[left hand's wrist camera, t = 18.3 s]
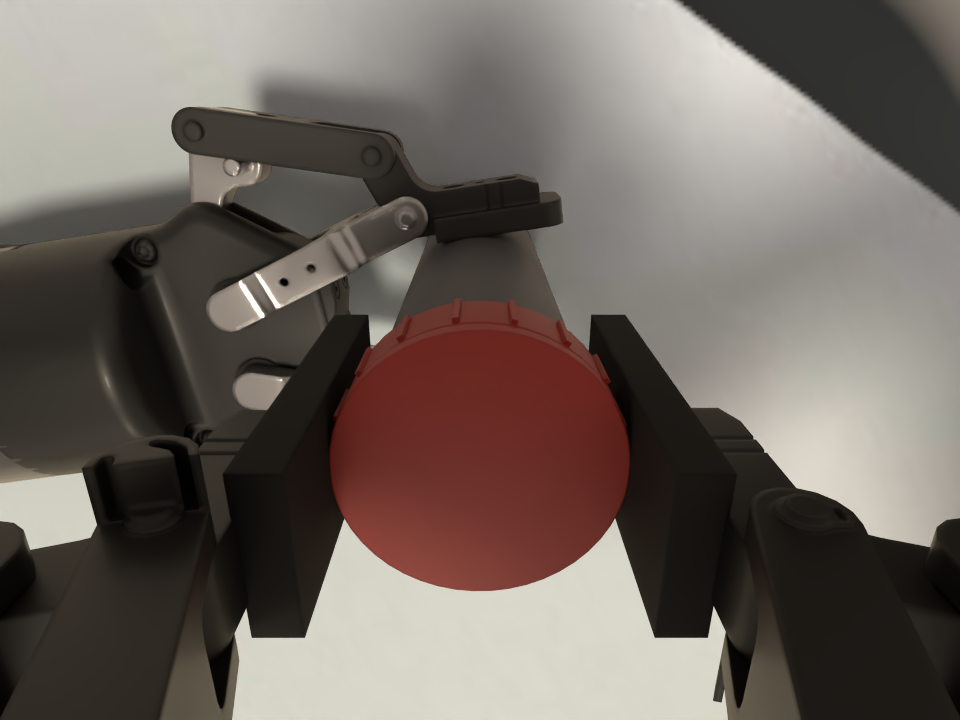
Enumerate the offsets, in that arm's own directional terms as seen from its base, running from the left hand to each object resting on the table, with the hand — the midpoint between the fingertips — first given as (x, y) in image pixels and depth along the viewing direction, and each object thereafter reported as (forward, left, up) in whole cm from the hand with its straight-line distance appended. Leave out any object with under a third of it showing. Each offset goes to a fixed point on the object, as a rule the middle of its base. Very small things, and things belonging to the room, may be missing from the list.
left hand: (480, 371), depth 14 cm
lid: (0, 0, +4) cm, 4 cm away
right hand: (-2, -2, -6) cm, 6 cm away
